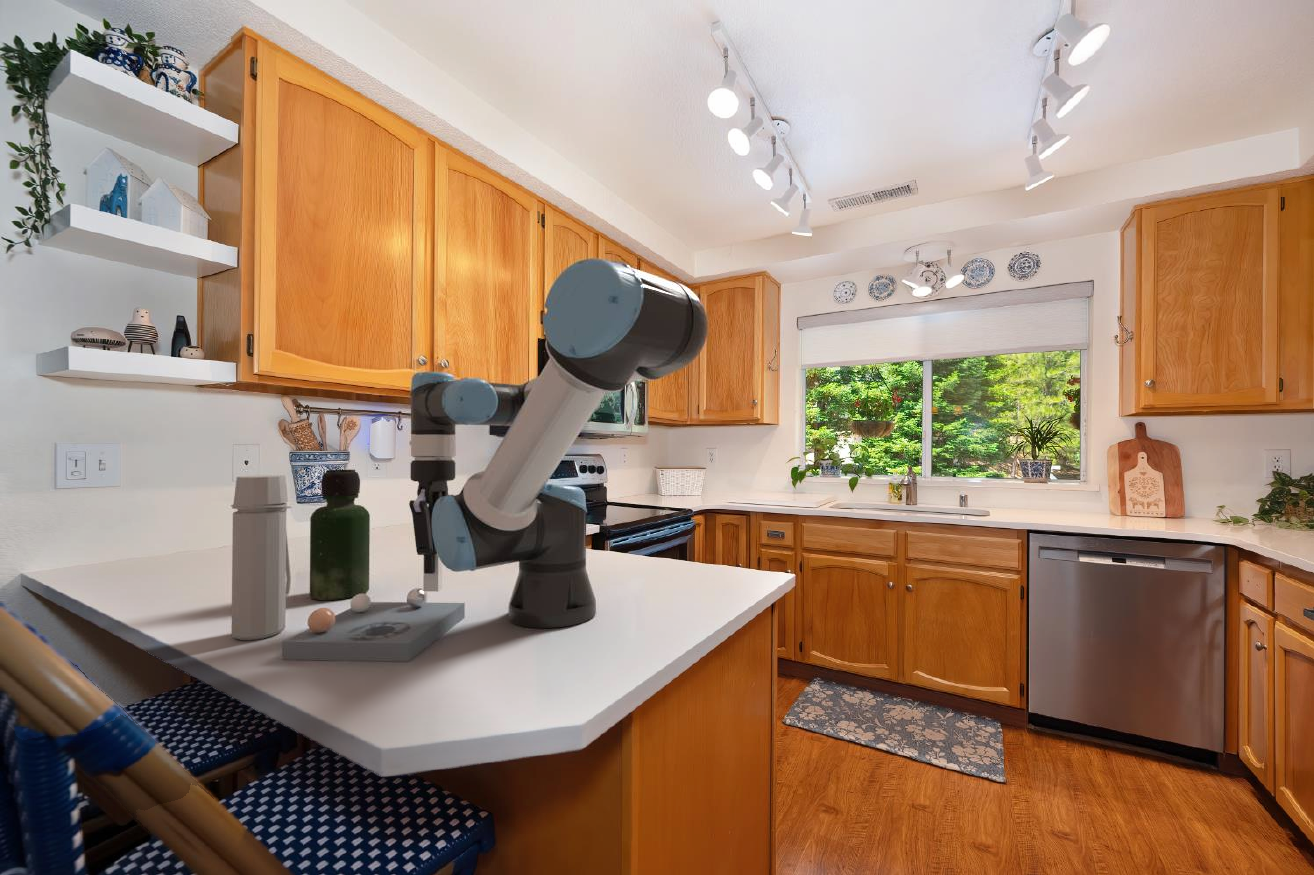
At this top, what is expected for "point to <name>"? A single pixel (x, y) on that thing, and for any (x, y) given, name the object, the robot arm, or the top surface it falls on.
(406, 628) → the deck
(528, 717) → the top surface
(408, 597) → the steel ball
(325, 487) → the green bottle
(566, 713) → the top surface
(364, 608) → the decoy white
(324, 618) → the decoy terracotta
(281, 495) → the water bottle
